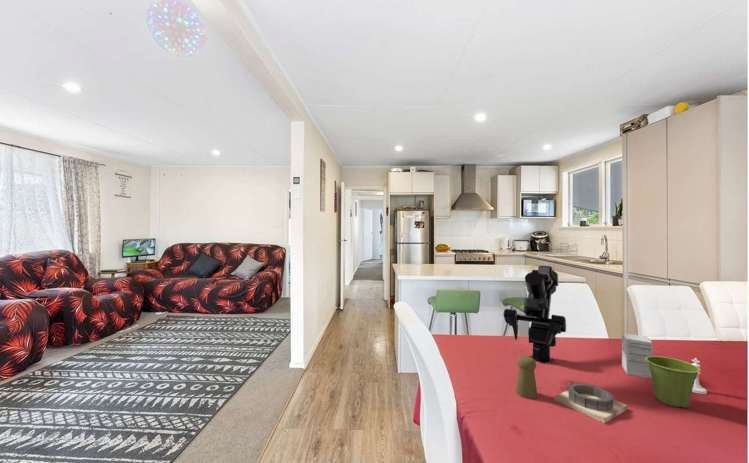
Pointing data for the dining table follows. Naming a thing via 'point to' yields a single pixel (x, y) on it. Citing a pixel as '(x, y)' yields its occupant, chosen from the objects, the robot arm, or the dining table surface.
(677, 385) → the plant pot
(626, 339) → the supplement box
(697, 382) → the chess piece
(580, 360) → the dining table surface
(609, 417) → the collar board
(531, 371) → the cork
